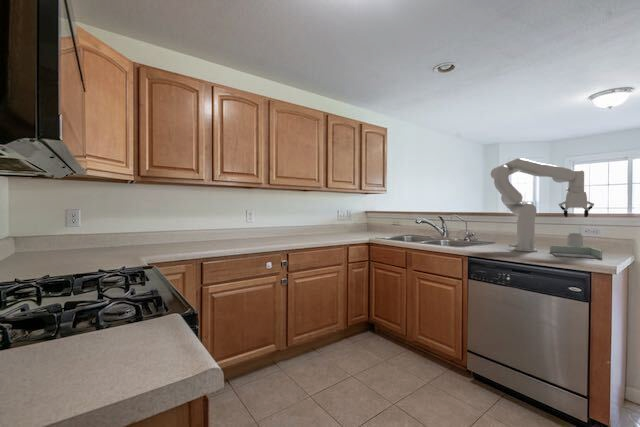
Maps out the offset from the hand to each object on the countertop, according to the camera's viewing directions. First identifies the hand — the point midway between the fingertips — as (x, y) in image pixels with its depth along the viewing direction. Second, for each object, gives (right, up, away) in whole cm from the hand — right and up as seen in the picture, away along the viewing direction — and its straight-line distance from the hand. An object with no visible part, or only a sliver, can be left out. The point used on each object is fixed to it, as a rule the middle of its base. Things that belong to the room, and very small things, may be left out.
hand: (575, 217), depth 188 cm
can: (0, -23, +1) cm, 23 cm away
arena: (-14, -23, -15) cm, 30 cm away
